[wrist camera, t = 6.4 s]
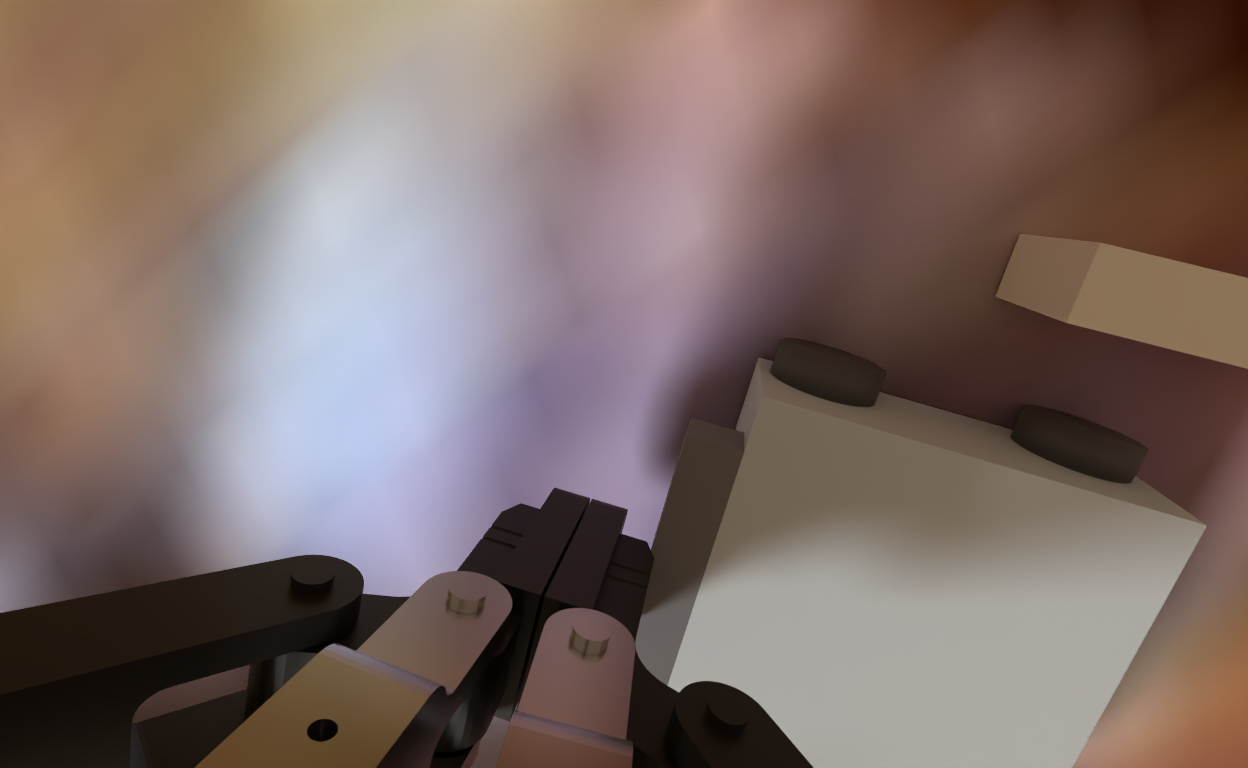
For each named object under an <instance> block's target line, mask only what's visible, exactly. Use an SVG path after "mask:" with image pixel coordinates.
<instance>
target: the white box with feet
mask: <svg viewBox="0 0 1248 768" xmlns="http://www.w3.org/2000/svg"><path fill="white" fill-rule="evenodd" d="M885 376H886V371H885V370H884V369H882V368H881V367H879V366H878V365H876V364H874V363H872V362H870V361H868V360H865V359H863V358H861V357H858V356H856V355H853V354H850V353H847V352H845V351H842V350H839V349H835V348H832V347H829V346H825V345H822V344H818V343H814V342H809V341H804V340H799V339H790V338H784V339H781V340H780V341H779V344H778V347H777V350H776V353H775V356H774V359H773V361H770V360H767V359H763V358H760V357H758V360H757V363H756V366H755V370H754V373H753V376H752V379H751V382H750V385H749V388H748V391H747V394H746V398H745V401H744V404H743V407H742V410H741V413H740V416H739V419H738V422H737V426H736V429H735V430H734V429H730V428H727V427H723V426H720V425H717V424H713V423H710V422H707V421H703V420H700V419H696V418H693V417H691V418H690V421H689V424H688V428H687V431H686V434H685V438H684V441H683V444H682V448H681V451H680V454H679V458H678V461H677V464H676V468H675V471H674V474H673V478H672V481H671V484H670V488H669V491H668V494H667V498H666V501H665V504H664V508H663V511H662V514H661V518H660V521H659V524H658V528H657V531H656V534H655V538H654V541H653V544H652V548H651V552H652V554H653V557H654V562H653V566H652V571H651V575H650V579H649V584H648V588H647V592H646V597H645V601H644V605H643V610H642V614H641V618H640V623H639V627H638V631H637V636H636V642H635V645H636V651H637V654H638V656H639V658H640V660H641V662H642V663H643V665H644V666H645V667H646V669H647V670H648V671H649V672H650V673H651V674H652V675H653V676H655V677H656V678H657V679H658V680H660V681H661V682H663V683H664V684H666V685H667V686H669V687H671V688H672V689H674V690H676V691H677V692H680V691H681V690H682V689H683V688H684V687H685V686H687V685H689V684H691V683H694V682H699V681H714V682H720V683H723V684H727V685H730V686H732V687H735V688H737V689H739V690H741V691H742V692H744V693H746V694H747V695H749V696H750V697H752V698H753V699H754V700H755V701H756V702H758V703H759V704H760V706H761V707H762V708H763V709H764V710H765V711H766V712H767V713H768V714H769V716H770V717H771V718H772V719H773V720H774V722H775V723H776V724H777V725H778V726H779V727H780V729H781V730H782V731H783V732H784V733H785V734H786V736H787V737H788V738H789V739H790V740H791V742H792V743H793V744H794V745H795V746H796V747H797V749H798V750H799V751H800V752H801V753H802V755H803V756H804V757H805V758H806V759H807V760H808V762H809V763H810V764H811V765H812V766H813V767H814V768H1072V767H1073V765H1074V764H1075V762H1076V760H1077V758H1078V756H1079V755H1080V753H1081V751H1082V749H1083V747H1084V746H1085V744H1086V742H1087V740H1088V738H1089V737H1090V735H1091V733H1092V731H1093V729H1094V728H1095V726H1096V724H1097V722H1098V721H1099V719H1100V717H1101V715H1102V713H1103V712H1104V710H1105V708H1106V706H1107V704H1108V703H1109V701H1110V699H1111V697H1112V695H1113V694H1114V692H1115V690H1116V688H1117V686H1118V685H1119V683H1120V681H1121V679H1122V678H1123V676H1124V674H1125V672H1126V670H1127V669H1128V667H1129V665H1130V663H1131V661H1132V660H1133V658H1134V656H1135V654H1136V652H1137V651H1138V649H1139V647H1140V645H1141V643H1142V642H1143V640H1144V638H1145V636H1146V635H1147V633H1148V631H1149V629H1150V627H1151V626H1152V624H1153V622H1154V620H1155V618H1156V617H1157V615H1158V613H1159V611H1160V609H1161V608H1162V606H1163V604H1164V602H1165V600H1166V599H1167V597H1168V595H1169V593H1170V592H1171V590H1172V588H1173V586H1174V584H1175V583H1176V581H1177V579H1178V577H1179V575H1180V574H1181V572H1182V570H1183V568H1184V566H1185V565H1186V563H1187V561H1188V559H1189V557H1190V556H1191V554H1192V552H1193V550H1194V549H1195V547H1196V545H1197V543H1198V541H1199V540H1200V538H1201V536H1202V534H1203V532H1204V531H1205V529H1206V527H1207V525H1206V524H1204V523H1203V522H1202V521H1200V520H1199V519H1197V518H1196V517H1194V516H1193V515H1191V514H1190V513H1188V512H1187V511H1186V510H1184V509H1183V508H1181V507H1180V506H1178V505H1177V504H1175V503H1174V502H1173V501H1171V500H1170V499H1168V498H1167V497H1165V496H1164V495H1162V494H1161V493H1160V492H1158V491H1157V490H1155V489H1154V488H1152V487H1151V486H1149V485H1148V484H1147V483H1145V482H1144V481H1142V480H1141V479H1139V478H1138V477H1136V476H1135V475H1136V474H1137V472H1138V470H1139V468H1140V466H1141V464H1142V462H1143V460H1144V458H1145V456H1146V454H1147V452H1148V449H1147V448H1146V447H1145V446H1144V445H1142V444H1141V443H1139V442H1137V441H1135V440H1133V439H1131V438H1129V437H1127V436H1125V435H1123V434H1121V433H1118V432H1116V431H1114V430H1111V429H1109V428H1106V427H1104V426H1101V425H1099V424H1096V423H1093V422H1091V421H1088V420H1085V419H1082V418H1079V417H1076V416H1073V415H1070V414H1066V413H1063V412H1060V411H1056V410H1052V409H1048V408H1044V407H1039V406H1033V405H1025V406H1024V407H1023V409H1022V411H1021V413H1020V415H1019V418H1018V420H1017V422H1016V424H1015V427H1014V429H1013V430H1012V429H1008V428H1005V427H1001V426H998V425H994V424H991V423H987V422H984V421H980V420H977V419H973V418H970V417H966V416H963V415H959V414H956V413H952V412H949V411H945V410H942V409H938V408H935V407H931V406H928V405H924V404H921V403H917V402H914V401H910V400H907V399H903V398H900V397H896V396H893V395H889V394H886V393H882V392H880V390H881V387H882V384H883V382H884V379H885Z"/></svg>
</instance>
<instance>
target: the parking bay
mask: <svg viewBox="0 0 1248 768" xmlns="http://www.w3.org/2000/svg"><path fill="white" fill-rule="evenodd" d="M995 297H997V298H1000V299H1003V300H1005V301H1008V302H1011V303H1014V304H1016V305H1019V306H1022V307H1024V308H1027V309H1030V310H1032V311H1035V312H1038V313H1041V314H1043V315H1046V316H1049V317H1051V318H1054V319H1057V320H1060V321H1062V322H1065V323H1068V324H1072V325H1076V326H1080V327H1084V328H1088V329H1092V330H1096V331H1100V332H1104V333H1108V334H1112V335H1116V336H1120V337H1124V338H1128V339H1132V340H1136V341H1140V342H1144V343H1148V344H1152V345H1156V346H1159V347H1163V348H1167V349H1171V350H1175V351H1179V352H1183V353H1187V354H1191V355H1195V356H1199V357H1203V358H1207V359H1211V360H1215V361H1219V362H1223V363H1227V364H1231V365H1235V366H1239V367H1243V368H1247V369H1248V278H1246V277H1242V276H1238V275H1234V274H1229V273H1225V272H1221V271H1217V270H1213V269H1209V268H1204V267H1200V266H1196V265H1192V264H1188V263H1184V262H1180V261H1175V260H1171V259H1167V258H1163V257H1159V256H1155V255H1150V254H1146V253H1142V252H1138V251H1134V250H1130V249H1126V248H1121V247H1117V246H1113V245H1109V244H1105V243H1101V242H1091V241H1082V240H1073V239H1064V238H1055V237H1046V236H1037V235H1027V234H1020V235H1019V238H1018V240H1017V243H1016V245H1015V248H1014V250H1013V253H1012V255H1011V258H1010V260H1009V263H1008V265H1007V268H1006V270H1005V273H1004V276H1003V278H1002V281H1001V283H1000V286H999V288H998V291H997V293H996V296H995Z"/></svg>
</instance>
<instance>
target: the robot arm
mask: <svg viewBox="0 0 1248 768" xmlns="http://www.w3.org/2000/svg"><path fill="white" fill-rule="evenodd" d="M627 511H628V509H624V508H621V507H618V506H614V505H611V504H608V503H604V502H601V501H598V500H595V499H592V500H591V502H590V498H588V497H584V496H581V495H578V494H574V493H571V492H568V491H564V490H561V489H558V488H554V489H553V490H552V492H551V493H550V495H549V497H548V498H547V500H546V501H545V503H544V504H543V506H542V507H541V509H538V508H534V507H531V506H528V505H525V504H519V505H516V506H514V507H512V508H510V509H507V510H505V511H503V512H501V514H500V515H499V516H498V518H497V519H496V520H495V522H494V523H493V524H492V526H491V528H489V530H488V531H487V532H486V533H485V535H484V536H483V539H481V540H480V541H479V543H478V544H477V545H476V547H475V548H474V549H473V550H472V552H471V553H470V554H469V556H468V557H467V558H466V560H465V561H464V562H463V564H462V565H461V566H460V568H459V569H458V570H457V571H451V572H445V573H441V574H438V575H436V576H433V577H432V578H430V579H428V580H427V581H426V582H425V583H424V584H423V585H422V586H421V587H420V588H419V589H418V590H417V591H416V592H415V593H414V594H413V595H412V596H411V597H391V596H381V595H370V594H362V593H363V587H364V580H363V576H362V574H361V573H360V571H359V570H358V569H357V568H356V567H354V566H353V565H352V564H350V563H348V562H346V561H344V560H341V559H338V558H335V557H330V556H324V555H303V556H296V557H290V558H285V559H280V560H275V561H269V562H264V563H259V564H254V565H249V566H243V567H238V568H233V569H228V570H223V571H217V572H212V573H207V574H202V575H196V576H191V577H186V578H181V579H176V580H170V581H165V582H160V583H155V584H150V585H144V586H139V587H134V588H129V589H123V590H118V591H113V592H108V593H103V594H97V595H92V596H87V597H82V598H77V599H71V600H66V601H61V602H56V603H50V604H45V605H40V606H35V607H30V608H24V609H19V610H14V611H9V612H4V613H0V768H470V767H471V765H472V764H473V762H474V760H475V758H476V756H477V754H478V750H479V745H480V741H481V738H482V737H483V736H484V734H485V733H486V731H487V729H488V727H489V725H490V723H491V721H492V718H493V716H496V717H499V718H502V719H505V720H508V721H510V719H511V717H512V719H511V722H510V725H509V728H508V731H507V734H506V737H505V740H504V743H503V746H502V750H501V753H500V756H499V759H498V762H497V765H496V768H814V767H813V766H812V765H811V764H810V763H809V762H808V760H807V759H806V758H805V757H804V756H803V755H802V753H801V752H800V751H799V750H798V749H797V747H796V746H795V745H794V744H793V743H792V742H791V740H790V739H789V738H788V737H787V736H786V734H785V733H784V732H783V731H782V730H781V729H780V727H779V726H778V725H777V724H776V723H775V722H774V720H773V719H772V718H771V717H770V716H769V714H768V713H767V712H766V711H765V710H764V709H763V708H762V707H761V706H760V704H759V703H758V702H756V701H755V700H754V699H753V698H752V697H750V696H749V695H747V694H746V693H744V692H742V691H741V690H739V689H737V688H735V687H732V686H730V685H727V684H723V683H720V682H714V681H699V682H694V683H691V684H689V685H687V686H685V687H684V688H683V689H682V690H681V691H680V692H677V691H676V690H674V689H672V688H671V687H669V686H667V685H666V684H664V683H663V682H661V681H660V680H658V679H657V678H656V677H655V676H653V675H652V674H651V673H650V672H649V671H648V670H647V669H646V667H645V666H644V665H643V663H642V662H641V660H640V658H639V656H638V654H637V651H636V645H635V642H636V636H637V631H638V627H639V623H640V618H641V614H642V610H643V605H644V601H645V597H646V592H647V588H648V584H649V579H650V575H651V571H652V566H653V562H654V557H653V554H652V552H651V550H650V548H649V546H648V543H647V542H646V541H643V540H639V539H636V538H633V537H630V536H626V535H623V534H622V530H623V527H624V523H625V519H626V515H627ZM249 664H250V669H249V678H248V687H247V689H246V690H243V691H240V692H236V693H233V694H230V695H227V696H223V697H220V698H217V699H214V700H210V701H207V702H204V703H200V704H197V705H194V706H191V707H187V708H184V709H181V710H178V711H174V712H171V713H168V714H165V715H161V716H158V717H155V718H151V719H148V720H145V721H142V722H138V723H133V724H132V718H133V716H134V713H135V712H136V710H137V709H138V707H139V706H140V705H141V704H142V703H143V702H144V701H145V700H146V699H148V698H149V697H150V696H152V695H153V694H155V693H157V692H159V691H161V690H163V689H166V688H169V687H172V686H175V685H179V684H182V683H186V682H189V681H193V680H196V679H200V678H203V677H207V676H211V675H214V674H218V673H221V672H225V671H228V670H232V669H235V668H239V667H242V666H246V665H249ZM517 703H518V705H517ZM516 706H517V709H516V710H515V708H516ZM514 710H515V711H514ZM513 712H514V713H513ZM512 715H513V716H512Z"/></svg>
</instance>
